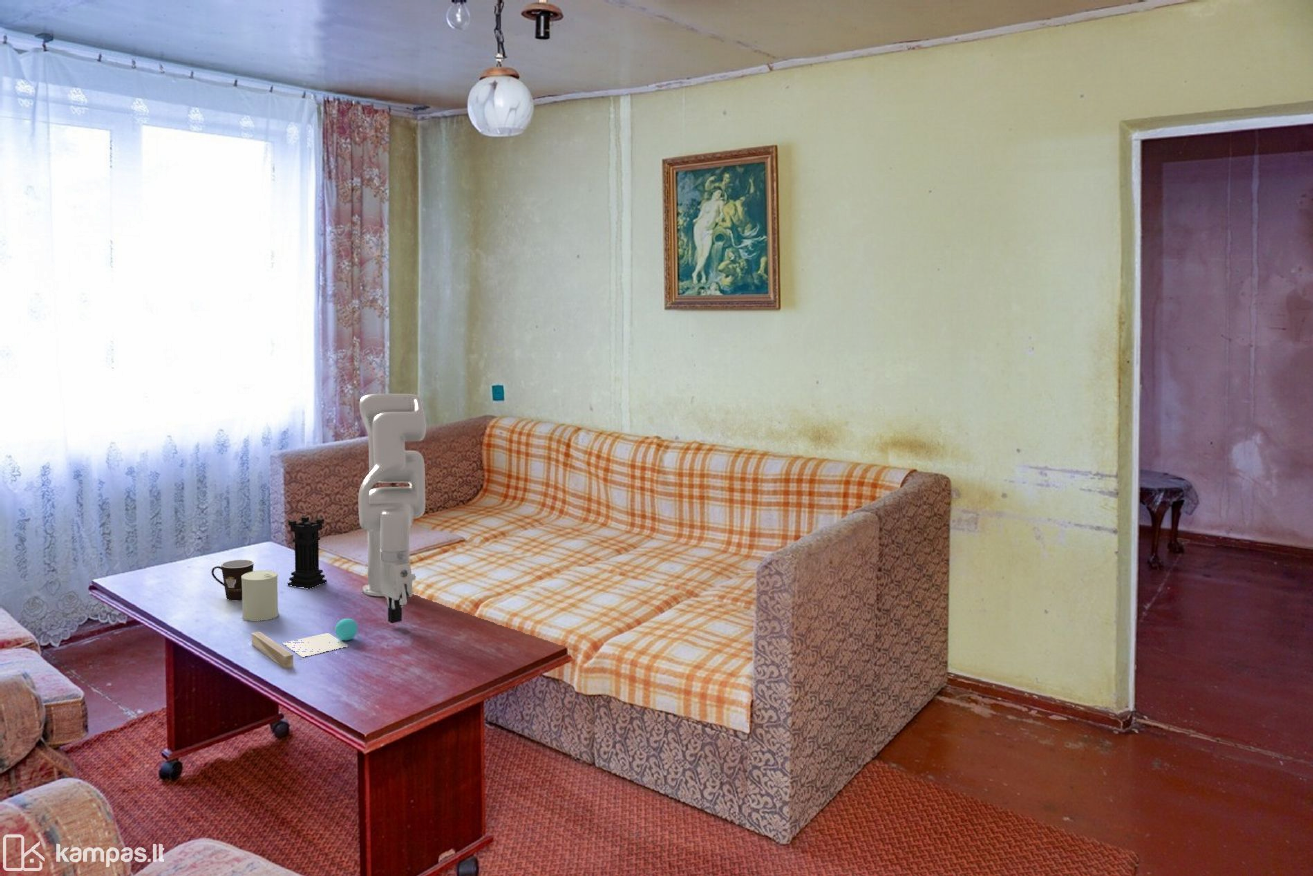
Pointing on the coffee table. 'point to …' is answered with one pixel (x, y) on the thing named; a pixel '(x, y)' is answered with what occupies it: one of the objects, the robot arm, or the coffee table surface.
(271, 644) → the rail
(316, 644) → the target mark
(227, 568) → the coffee mug
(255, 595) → the can
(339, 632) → the ball
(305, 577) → the chess piece
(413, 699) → the coffee table surface
